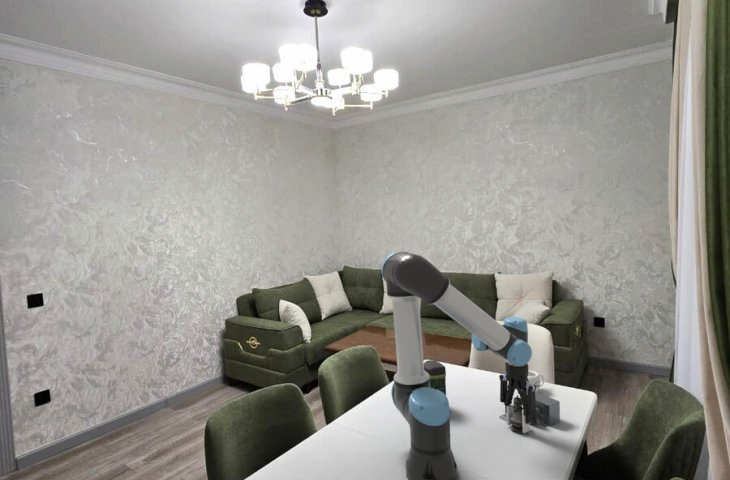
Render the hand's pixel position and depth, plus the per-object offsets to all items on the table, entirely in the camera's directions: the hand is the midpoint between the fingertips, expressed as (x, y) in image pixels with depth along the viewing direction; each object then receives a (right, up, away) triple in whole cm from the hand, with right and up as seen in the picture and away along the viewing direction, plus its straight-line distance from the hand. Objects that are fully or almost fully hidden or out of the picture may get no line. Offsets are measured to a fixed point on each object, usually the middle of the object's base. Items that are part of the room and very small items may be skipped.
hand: (518, 427), depth 142 cm
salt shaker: (0, -1, 0) cm, 1 cm away
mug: (+18, +1, +31) cm, 36 cm away
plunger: (+8, +1, +8) cm, 11 cm away
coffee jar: (-26, -1, +18) cm, 32 cm away
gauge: (+7, 0, +7) cm, 9 cm away
